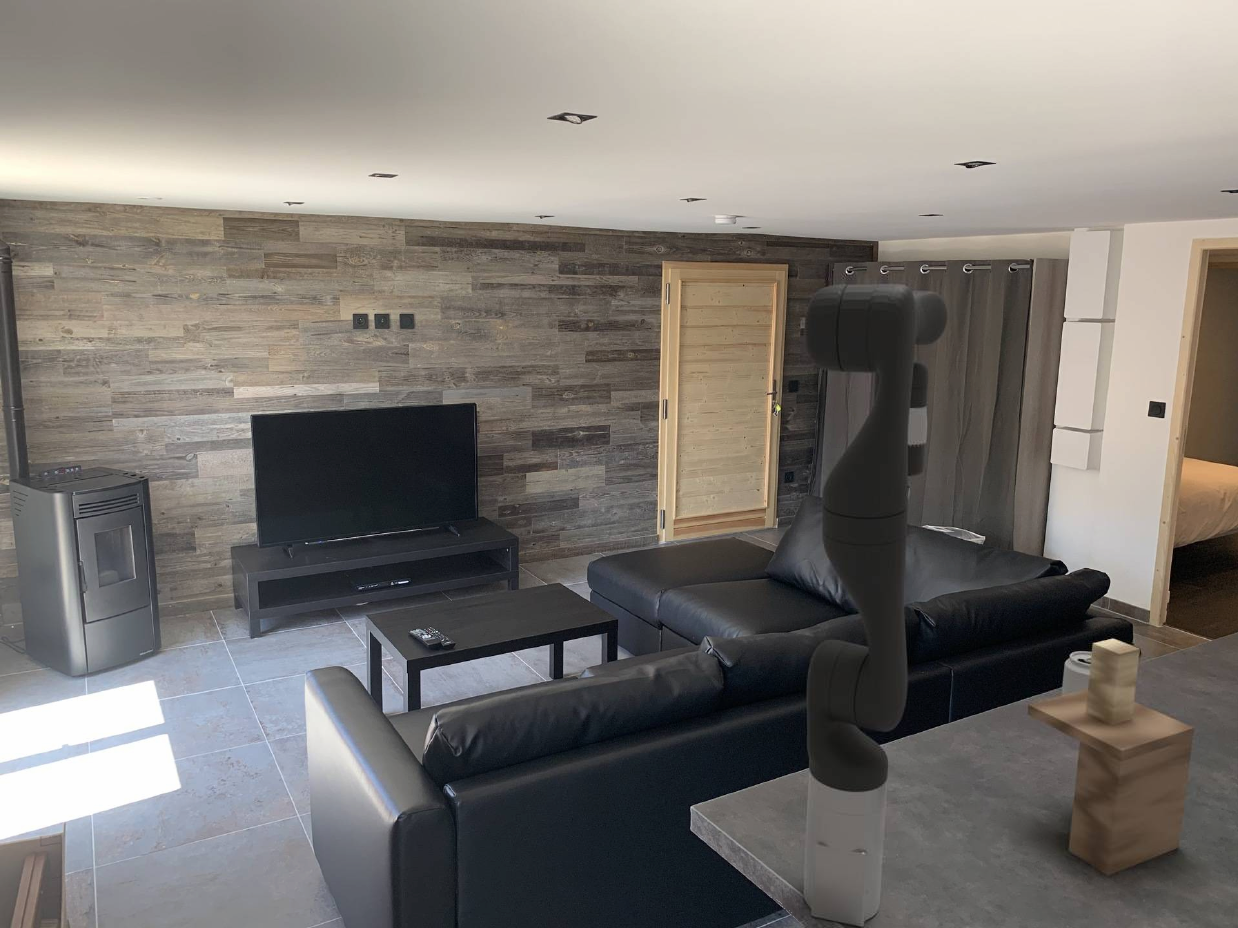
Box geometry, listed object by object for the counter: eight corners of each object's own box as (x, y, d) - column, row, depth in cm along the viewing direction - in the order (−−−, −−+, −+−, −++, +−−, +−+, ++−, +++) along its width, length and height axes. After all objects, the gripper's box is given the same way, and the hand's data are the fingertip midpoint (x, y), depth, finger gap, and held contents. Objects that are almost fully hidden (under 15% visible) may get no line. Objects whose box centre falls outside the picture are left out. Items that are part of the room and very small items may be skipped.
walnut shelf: (1017, 818, 138) (1028, 704, 134) (1086, 795, 144) (1097, 685, 140) (1107, 875, 125) (1122, 750, 121) (1178, 847, 131) (1194, 727, 127)
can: (1049, 717, 169) (1055, 652, 166) (1080, 709, 172) (1086, 645, 169) (1086, 736, 162) (1093, 669, 160) (1117, 727, 165) (1124, 661, 163)
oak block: (1085, 712, 132) (1092, 643, 130) (1105, 706, 133) (1113, 638, 131) (1111, 724, 128) (1119, 653, 126) (1131, 718, 130) (1139, 648, 128)
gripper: (924, 447, 126) (916, 568, 128) (928, 432, 139) (920, 542, 142) (864, 444, 128) (858, 562, 131) (874, 429, 141) (867, 537, 144)
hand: (890, 552), depth 136 cm, fingers open, 8 cm apart
